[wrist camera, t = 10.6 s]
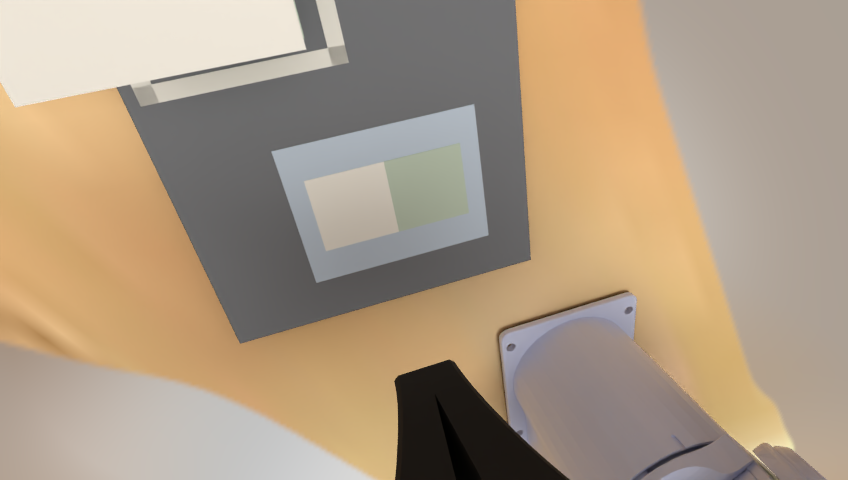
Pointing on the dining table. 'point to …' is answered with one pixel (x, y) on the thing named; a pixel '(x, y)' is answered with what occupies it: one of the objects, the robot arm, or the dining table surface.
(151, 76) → the top block
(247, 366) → the dining table surface
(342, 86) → the mat
